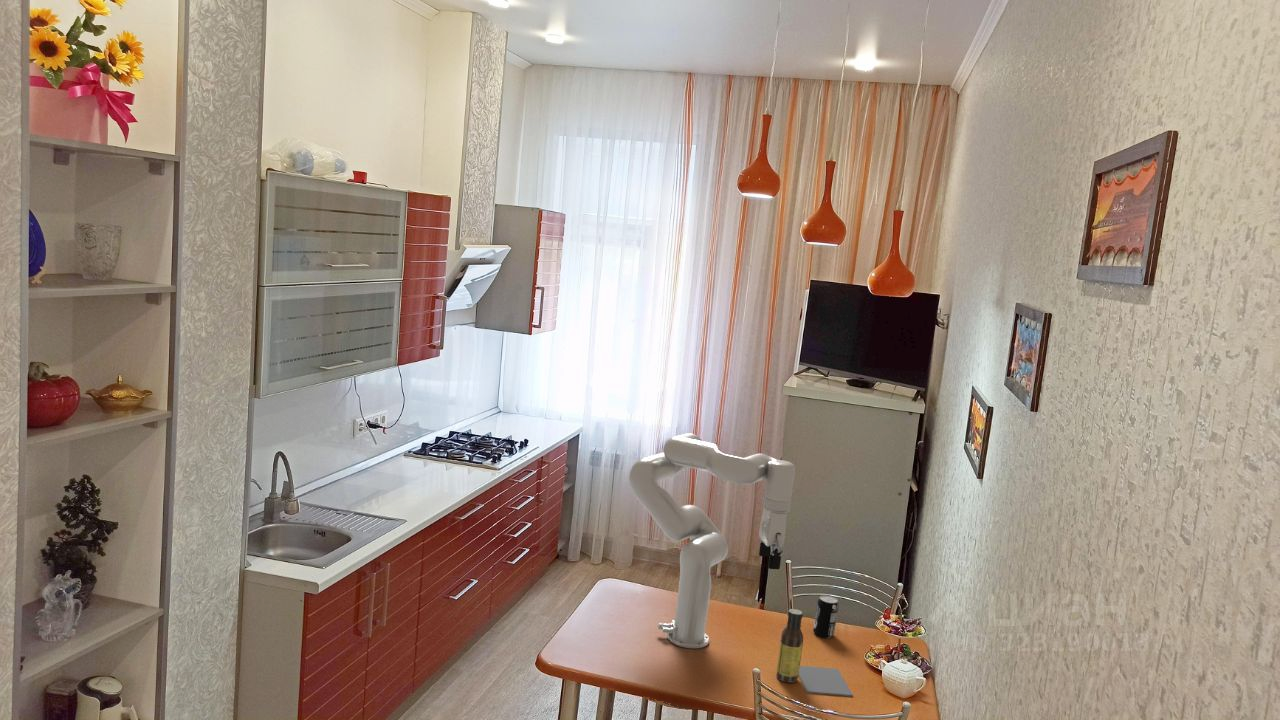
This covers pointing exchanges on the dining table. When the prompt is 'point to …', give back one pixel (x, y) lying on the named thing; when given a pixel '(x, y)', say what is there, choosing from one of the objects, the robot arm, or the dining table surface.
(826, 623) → the beverage can
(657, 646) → the dining table surface
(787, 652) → the sauce bottle
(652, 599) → the dining table surface
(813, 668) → the mat
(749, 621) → the dining table surface
